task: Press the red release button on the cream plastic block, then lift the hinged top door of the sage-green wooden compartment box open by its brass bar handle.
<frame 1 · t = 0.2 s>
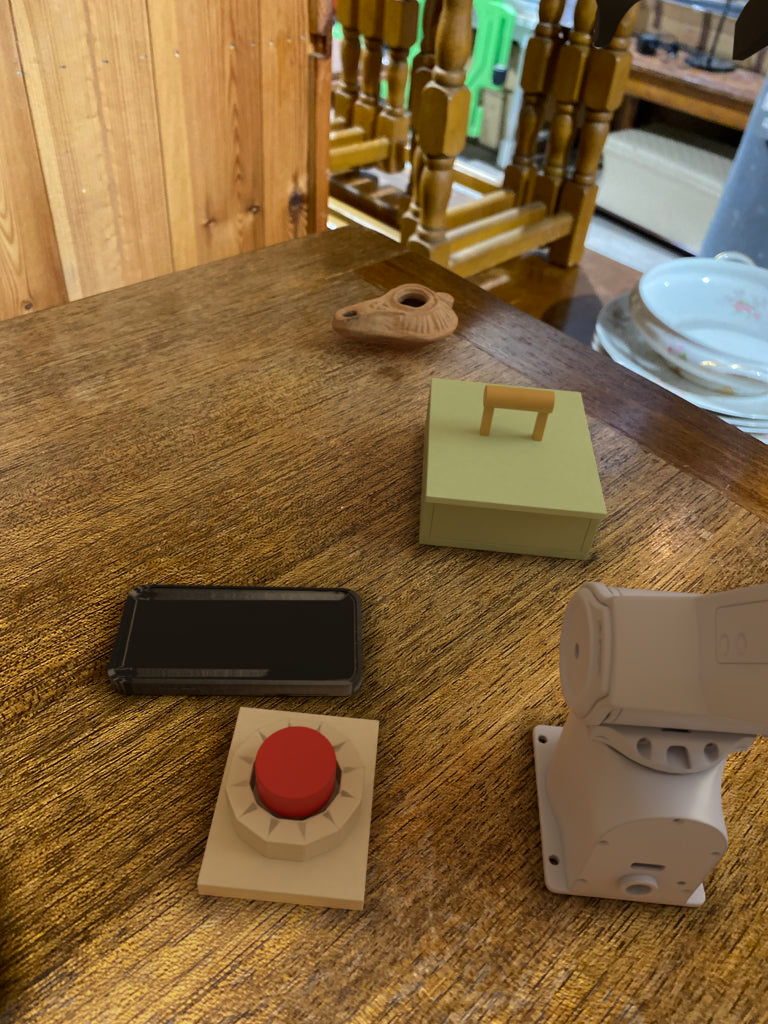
hand: (670, 36, 43), 32 cm above the table, tool tilted 50°, fingers open, 7 cm apart
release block: (296, 806, 42), on the table
release button: (295, 771, 39), point 4 cm above the table, slide at 0.1 cm
compartment: (498, 489, 63), on the table
compartment door: (515, 419, 58), point 7 cm above the table, hinge at 0.0°
phone: (242, 646, 49), on the table
pottery oil lamp: (391, 343, 79), on the table
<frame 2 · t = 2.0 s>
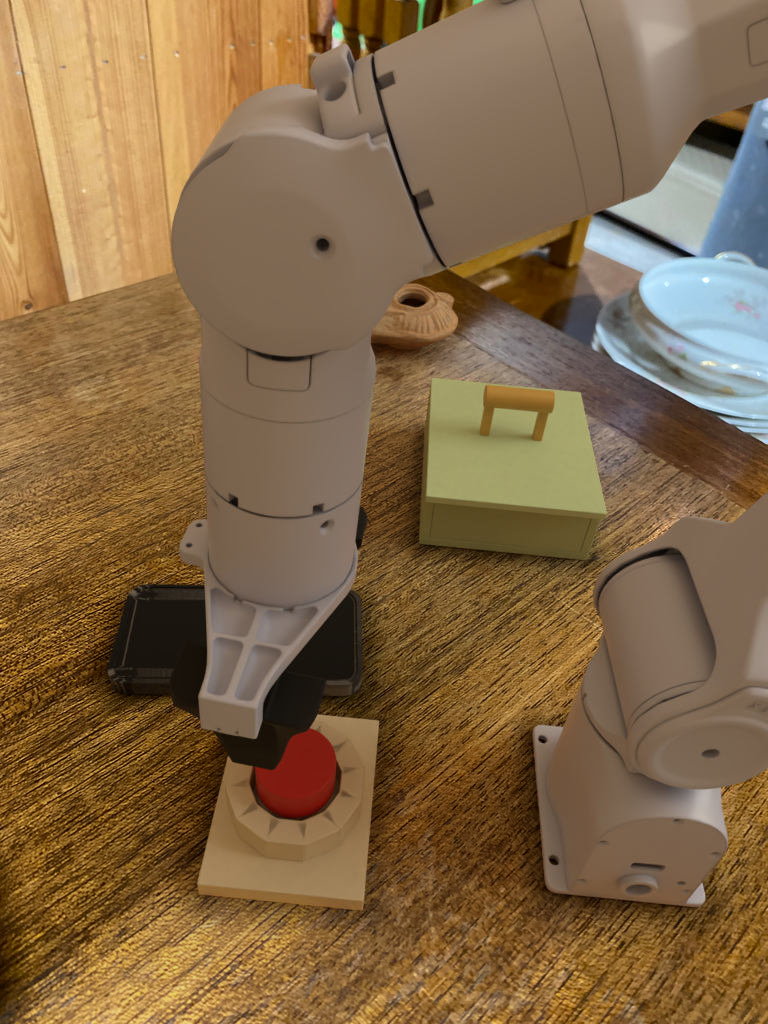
hand: (276, 688, 37), 8 cm above the table, tool pointing down, fingers open, 7 cm apart
nothing on the table moved.
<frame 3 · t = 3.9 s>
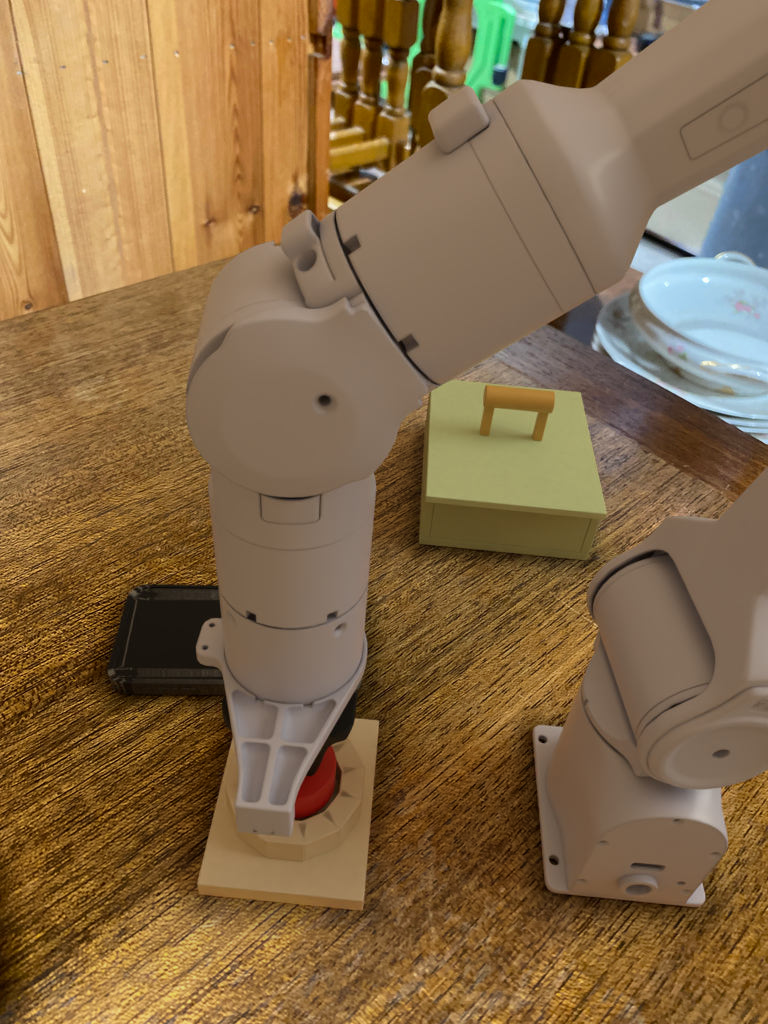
hand: (295, 761, 39), 4 cm above the table, tool pointing down, fingers closed, pressing on release button
release button: (295, 771, 39), point 3 cm above the table, slide at 0.0 cm, touching gripper
everything else where it was.
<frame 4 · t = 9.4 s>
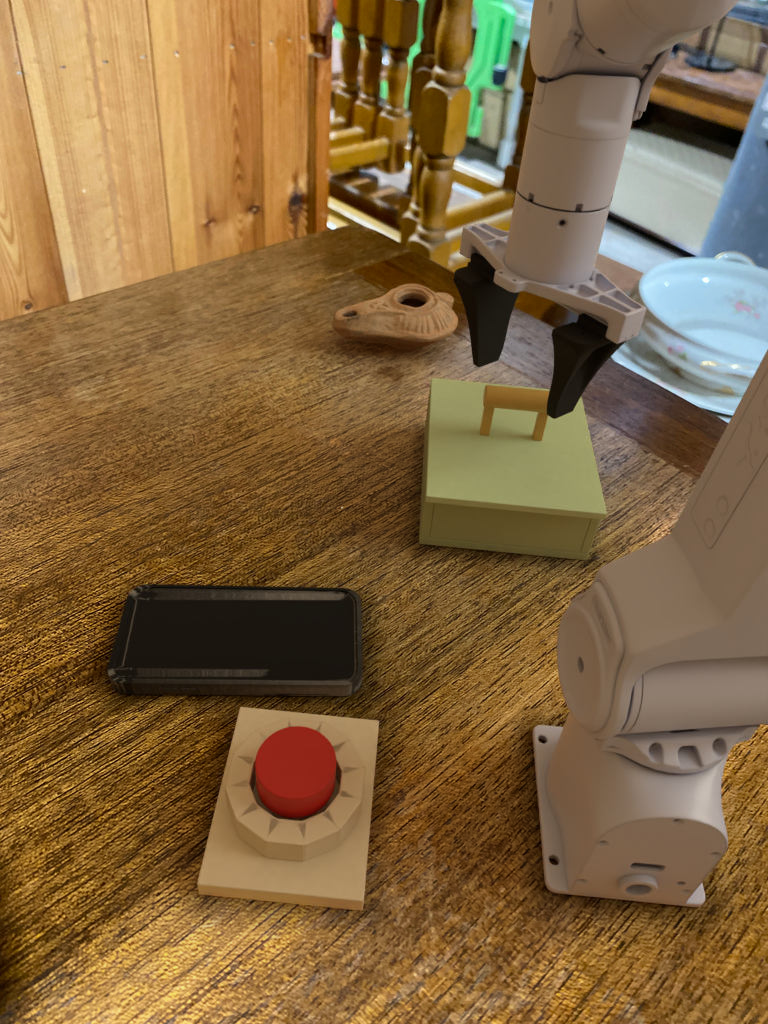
hand: (521, 386, 56), 10 cm above the table, tool pointing down, fingers open, 7 cm apart
release button: (295, 771, 39), point 4 cm above the table, slide at 0.1 cm
everything else where it was.
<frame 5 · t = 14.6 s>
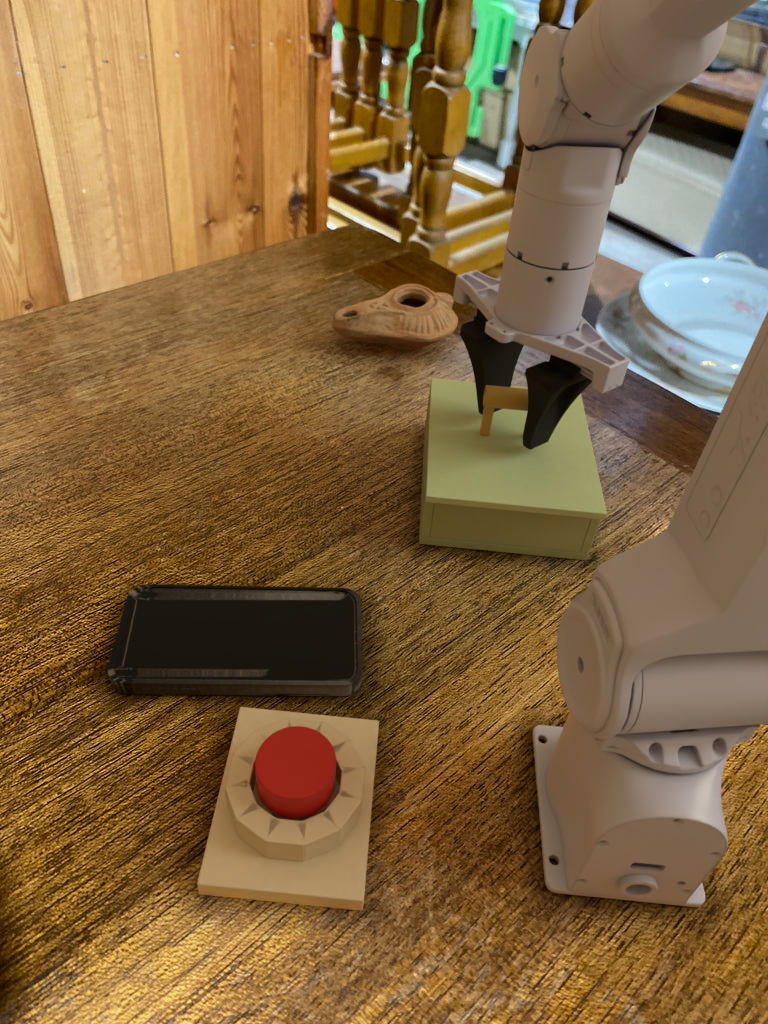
hand: (512, 426, 58), 6 cm above the table, tool pointing down, fingers closed on compartment door, 4 cm apart
compartment door: (515, 419, 58), point 7 cm above the table, hinge at 0.0°, touching gripper
everything else where it was.
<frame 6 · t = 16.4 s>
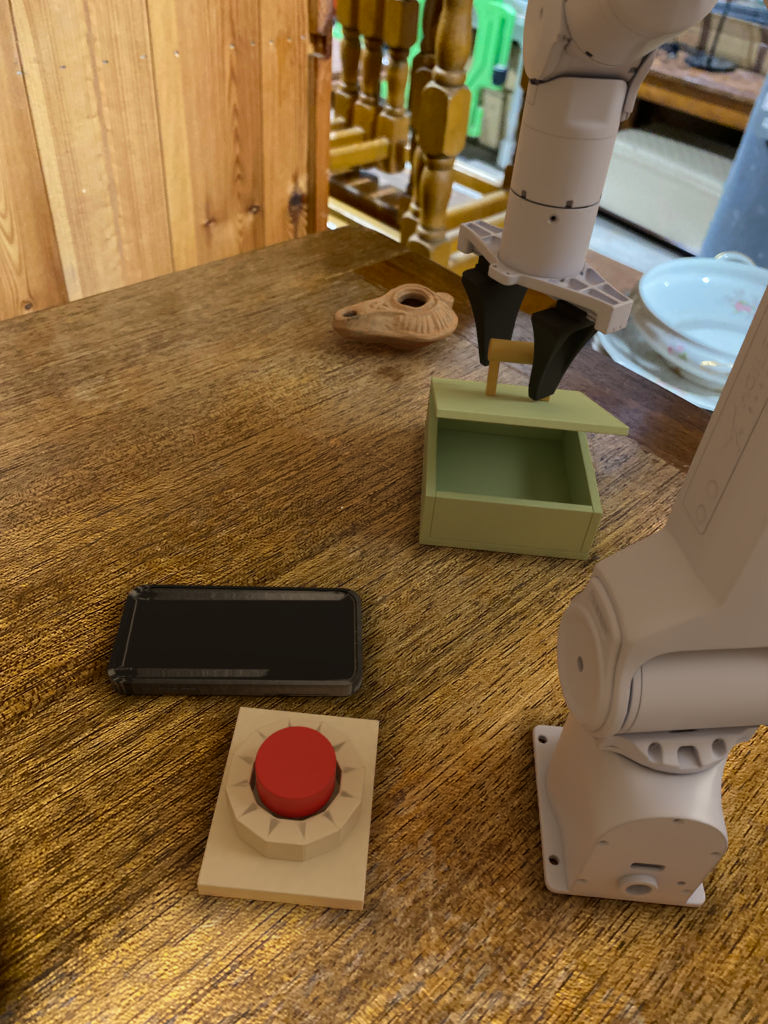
hand: (515, 377, 58), 9 cm above the table, tool pointing down, fingers open, 5 cm apart
compartment door: (521, 374, 57), point 10 cm above the table, hinge at 24.1°, touching gripper
everything else where it was.
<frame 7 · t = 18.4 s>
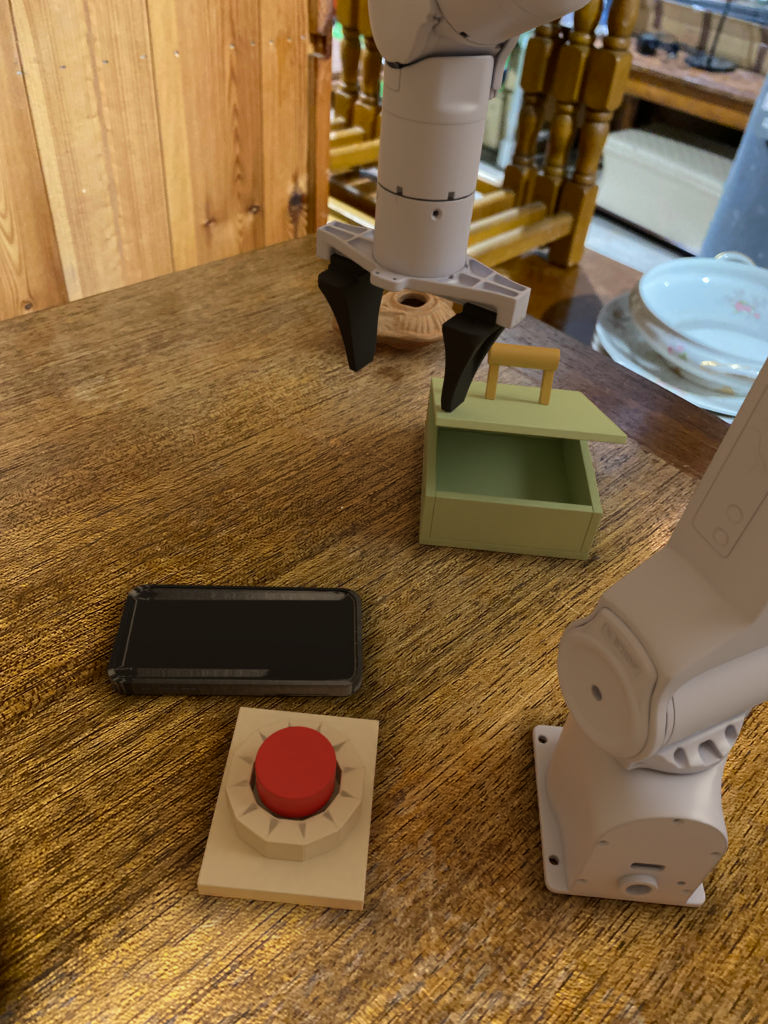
hand: (405, 384, 54), 10 cm above the table, tool pointing down, fingers open, 7 cm apart
compartment door: (520, 378, 57), point 10 cm above the table, hinge at 22.0°
everything else where it was.
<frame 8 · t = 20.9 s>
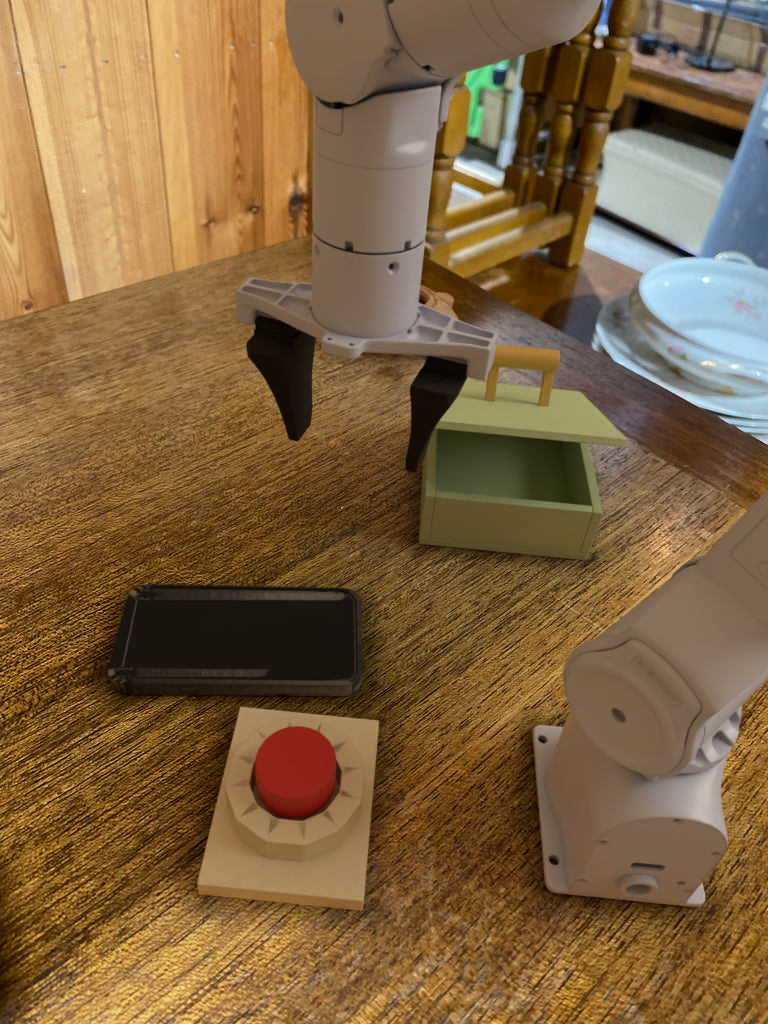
hand: (356, 447, 48), 10 cm above the table, tool pointing down, fingers open, 7 cm apart
compartment door: (520, 380, 57), point 10 cm above the table, hinge at 21.3°
everything else where it was.
at the end: release button pushed in 1.2 cm at the most during the clip, back to where it started at the end; release button slide at 0.1 cm; compartment door at +21° (first picture: +0°) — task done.
